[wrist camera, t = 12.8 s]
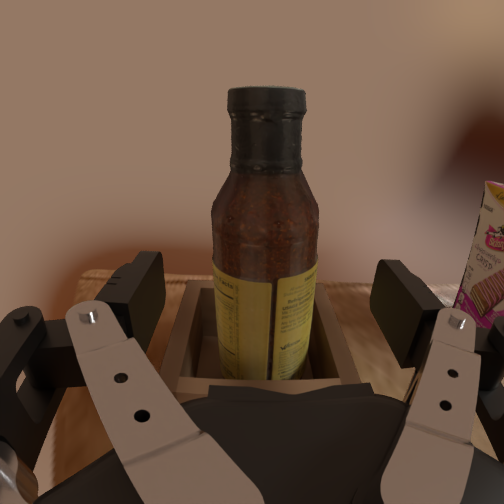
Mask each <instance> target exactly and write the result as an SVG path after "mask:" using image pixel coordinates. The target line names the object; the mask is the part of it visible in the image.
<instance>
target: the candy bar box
mask: <svg viewBox="0 0 504 504" xmlns="http://www.w3.org/2000/svg"><path fill="white" fill-rule="evenodd" d="M452 308H456V309H459V310H462V311H464V312H466V313H467V314H469V315H470V316H471V317H472V318H473V319H474V321H475V323H476V327H481V328H487V329H490V328H491V326H492V324H493V322H494V319H495V318H496V317H498V316H504V184H502V183H496V182H493V181H485V187H484V193H483V198H482V204H481V208H480V214H479V219H478V222H477V227H476V231H475V235H474V239H473V243H472V248H471V251H470V254H469V258H468V261H467V265H466V269H465V272H464V275H463V278H462V281H461V284H460V287H459V290H458V293H457V296H456V299H455V302H454V305H453V307H452Z"/></svg>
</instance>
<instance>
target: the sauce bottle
mask: <svg viewBox="0 0 504 504" xmlns="http://www.w3.org/2000/svg"><path fill="white" fill-rule="evenodd" d="M305 94H306V93H305V91H304V90H302V89H298V88H293V87H282V86H247V87H236V88H231V89H229V91H228V105H227V110H228V113H229V115H230V118H231V131H232V135H231V140H232V154H231V158H230V167H231V171H230V173H229V176H228V178H227V180H226V181H225V183H224V185H223V186H222V188H221V190H220V192H219V193H218V195H217V197H216V199H215V201H214V202H213V206H212V210H211V218H212V231H213V232H212V234H213V250H214V251H213V257H212V260H213V261H212V262H213V277H214V291H215V307H216V320H217V333H218V346H219V359H220V369H221V372H222V375H223V378H224V379H231V380H302V375H303V373H304V371H305V367H306V361H307V353H308V346H309V337H310V329H311V321H312V313H313V303H314V294H315V284H316V275H317V265H318V255H317V239H318V229H319V222H318V221H319V220H318V219H319V209H318V204H317V203H316V200H315V198H314V196H313V194H312V192H311V190H310V187H309V185H308V183H307V181H306V178H305V176H304V174H303V172H302V170H301V167H302V158H301V140H302V136H301V131H302V119H303V117H304V115H305V113H306V111H307V109H306V100H305V99H306V98H305Z"/></svg>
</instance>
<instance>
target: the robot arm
mask: <svg viewBox="0 0 504 504" xmlns="http://www.w3.org/2000/svg"><path fill="white" fill-rule="evenodd" d="M165 297H166V290H165V280H164V269H163V258H162V254H161V252H156V251H155V252H154V251H140V252H139V254H138V255H137V256H136V258H135V259H134V260H133V262H132V263H131V264H130V263H127V264H125V265H123V266H121V267H120V268H118V269H117V270H116V271H115V272H114V274H113V275H112V276H111V278H110V279H109V280H108V281H107V283H106V284H105V285H104V287H103V288H102V289H101V291H100V292H99V293H98V295H97V296H96V297H95V299H94V300H90V301H84V302H81V303H78V304H76V305H74V306H73V307H71V308H70V309H69V310H68V312H67V313H66V317H65V318H66V319H60V320H49V321H44V318H43V315H42V313H41V310H40V309H39V308H37V307H33V306H25V307H20V308H17V309H15V310H13V311H12V312H10V313H9V314H8V315H7V316H6V317H5V318H4V319H3V320H2V322H1V323H0V504H504V387H503V385H502V383H501V381H502V379H503V377H504V316H498V317H496V318H495V319H494V322H493V324H492V326H491V328H490V329H487V328H481V327H476V323H475V321H474V319H473V318H472V317H471V316H470V315H469V314H467V313H466V312H464V311H462V310H459V309H456V308H446V307H445V306H444V305H443V304H442V302H441V301H440V300H439V299H438V298H437V297H436V296H435V294H434V293H432V291H431V290H430V289H429V288H428V287H427V285H426V284H425V283H424V282H423V281H422V280H421V279H420V278H419V277H417V276H415V275H414V274H412V273H411V272H410V271H409V270H408V269H407V268H406V267H405V266H404V264H403V263H402V262H401V261H400V260H385V259H384V260H383V259H382V260H380V261H379V263H378V265H377V269H376V273H375V278H374V282H373V287H372V291H371V295H370V309H371V312H372V314H373V316H374V318H375V319H376V321H377V323H378V325H379V327H380V329H381V331H382V332H383V334H384V336H385V338H386V340H387V342H388V344H389V346H390V348H391V350H392V352H393V353H394V355H395V357H396V359H397V361H398V363H399V365H400V367H401V369H403V368H411V367H415V372H414V374H413V376H412V378H411V381H410V384H409V386H408V389H407V391H406V394H405V396H404V398H403V401H400V400H398V399H395V398H392V397H388V396H385V395H380V394H374V392H373V389H372V387H371V384H370V383H359V384H346V385H333V386H329V387H325V388H321V389H317V390H313V391H309V392H304V393H300V394H286V393H281V392H275V391H270V390H265V389H260V388H255V387H248V386H221V385H209V389H208V397H202V398H197V399H193V400H189V401H186V402H183V403H181V404H179V403H178V401H177V400H176V398H175V397H174V396H173V394H172V393H171V392H170V390H169V389H168V387H167V386H166V384H165V383H164V382H163V380H162V379H161V377H160V376H159V374H158V373H157V371H156V370H155V369H154V367H153V366H152V364H151V363H150V361H149V360H148V358H147V356H146V355H145V354H146V351H147V348H148V346H149V343H150V341H151V338H152V335H153V333H154V330H155V328H156V325H157V323H158V320H159V318H160V315H161V313H162V310H163V308H164V305H165ZM22 370H23V371H24V373H25V375H26V378H25V379H24V381H23V383H22V385H21V386H20V388H19V390H18V392H17V393H16V381H17V378H18V377H19V375H20V373H21V372H22ZM81 386H87V387H88V389H89V392H90V395H91V397H92V400H93V402H94V404H95V407H96V409H97V412H98V414H99V416H100V419H101V421H102V423H103V425H104V428H105V430H106V432H107V434H108V436H109V438H110V440H111V442H112V445H113V447H114V448H113V449H112V450H110V451H109V452H107V453H106V454H104V455H103V456H102V457H100V458H99V459H97V460H96V461H94V462H93V463H91V464H90V465H88V466H87V467H85V468H83V469H82V470H80V471H79V472H77V473H76V474H74V475H73V476H71V477H69V478H68V479H66V480H65V481H63V482H62V483H60V484H58V485H57V486H55V487H53V488H52V489H50V490H49V491H47V492H45V493H44V494H43V495H41V496H40V497H38V482H37V479H36V476H35V475H34V473H33V470H34V467H35V464H36V462H37V459H38V456H39V453H40V451H41V448H42V446H43V443H44V440H45V438H46V435H47V433H48V430H49V428H50V426H51V423H52V421H53V418H54V416H55V414H56V411H57V409H58V407H59V404H60V402H61V400H62V398H63V395H64V393H65V391H66V389H67V387H81ZM475 411H476V413H477V415H478V417H479V419H480V421H481V423H482V425H483V427H484V429H485V432H486V434H487V436H488V438H489V440H490V442H491V444H492V447H493V449H494V451H495V453H496V456H497V458H498V460H499V461H497V460H496V459H494V458H492V457H491V456H489V455H487V454H486V453H484V452H482V451H481V450H479V449H478V448H476V447H474V446H473V444H472V443H471V441H470V439H471V433H472V428H473V422H474V416H475Z"/></svg>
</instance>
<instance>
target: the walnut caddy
mask: <svg viewBox="0 0 504 504" xmlns="http://www.w3.org/2000/svg"><path fill="white" fill-rule="evenodd" d="M159 376H160V377H161V379H162V380H163V382H164V383H165V384H166V386H167V387H168V389H169V390H170V392H171V393H172V394H173V396H174V397H175V398H176V400H177V401H178V403H179V404H181V403H183V402H186V401H189V400H193V399H197V398H202V397H208V389H209V385H221V386H248V387H255V388H260V389H265V390H270V391H275V392H281V393H286V394H300V393H304V392H309V391H313V390H317V389H321V388H325V387H329V386H333V385H346V384H359V383H361V380H360V378H359V375H358V372H357V369H356V367H355V364H354V361H353V359H352V356H351V353H350V351H349V348H348V345H347V343H346V340H345V337H344V335H343V332H342V330H341V327H340V325H339V322H338V319H337V317H336V314H335V312H334V309H333V307H332V304H331V302H330V299H329V297H328V294H327V292H326V289H325V287H324V285H323V283H316V284H315V294H314V303H313V313H312V321H311V329H310V337H309V346H308V353H307V361H306V367H305V371H304V373H303V375H302V380H231V379H224V378H223V375H222V372H221V369H220V359H219V346H218V333H217V320H216V307H215V291H214V281H206V280H188V283H187V286H186V289H185V292H184V295H183V298H182V301H181V304H180V307H179V310H178V313H177V316H176V319H175V323H174V326H173V329H172V332H171V335H170V339H169V342H168V345H167V348H166V352H165V355H164V358H163V362H162V365H161V368H160V372H159Z"/></svg>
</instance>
